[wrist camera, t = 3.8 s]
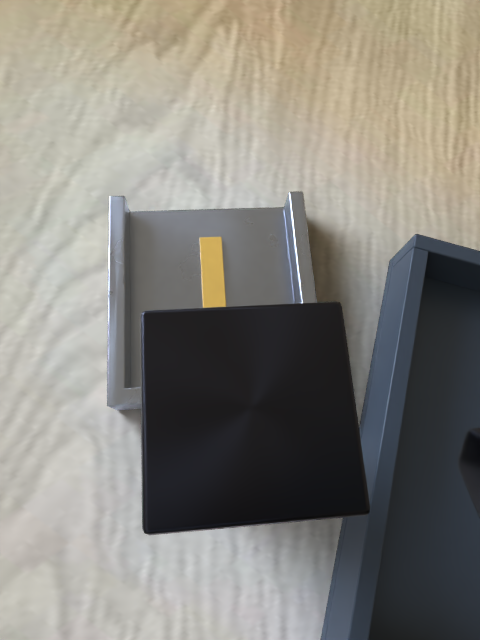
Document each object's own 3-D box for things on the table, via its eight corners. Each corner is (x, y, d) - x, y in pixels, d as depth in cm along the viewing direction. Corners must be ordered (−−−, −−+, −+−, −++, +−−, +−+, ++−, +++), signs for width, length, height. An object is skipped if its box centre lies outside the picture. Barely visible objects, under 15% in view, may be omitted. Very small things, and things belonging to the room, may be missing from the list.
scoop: (325, 462, 16) (603, 495, 5) (115, 478, 16) (-137, 562, 4) (295, 211, 19) (425, -143, 8) (116, 216, 19) (-32, -162, 7)
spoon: (247, 366, 17) (247, 364, 17) (188, 369, 17) (188, 368, 16) (237, 238, 18) (237, 235, 18) (183, 240, 18) (183, 237, 18)
